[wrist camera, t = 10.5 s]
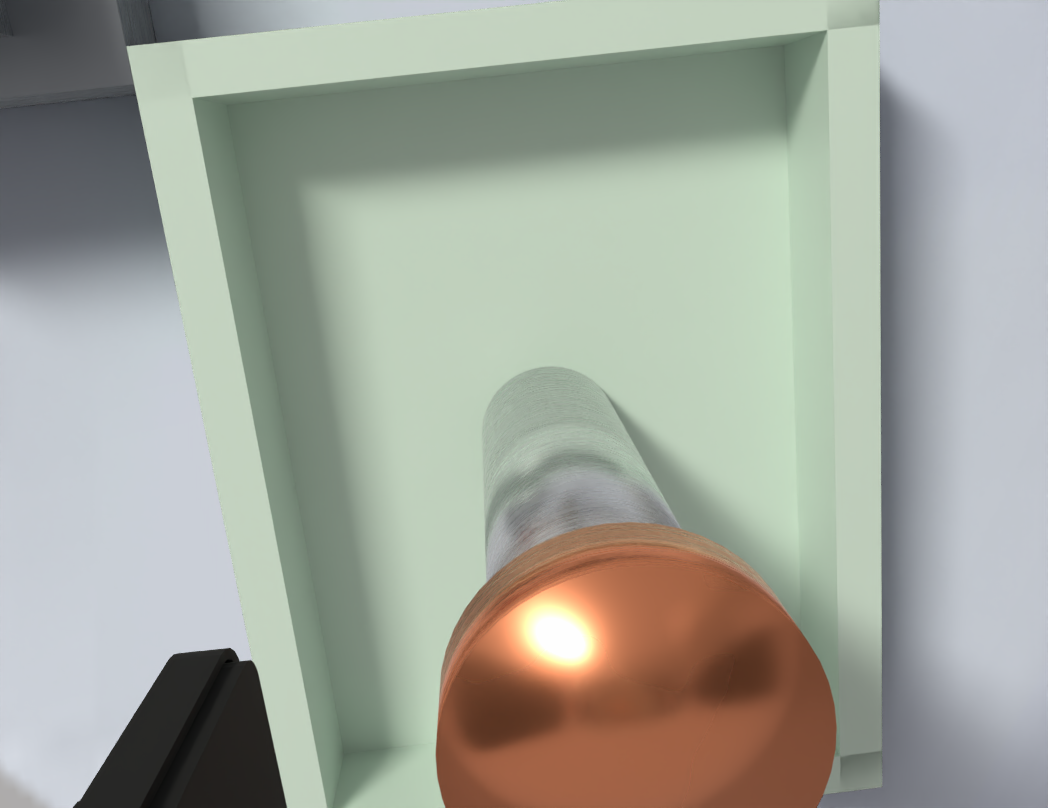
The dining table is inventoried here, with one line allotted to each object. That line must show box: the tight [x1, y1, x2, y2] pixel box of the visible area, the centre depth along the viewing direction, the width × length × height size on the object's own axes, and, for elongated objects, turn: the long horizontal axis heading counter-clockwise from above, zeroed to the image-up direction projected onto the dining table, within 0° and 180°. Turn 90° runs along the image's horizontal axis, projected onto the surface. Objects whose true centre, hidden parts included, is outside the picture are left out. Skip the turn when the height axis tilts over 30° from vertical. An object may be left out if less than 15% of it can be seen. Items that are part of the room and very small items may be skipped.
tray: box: [126, 0, 882, 808], centre depth 21 cm, size 14×18×4 cm
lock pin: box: [435, 366, 837, 808], centre depth 16 cm, size 4×4×12 cm
